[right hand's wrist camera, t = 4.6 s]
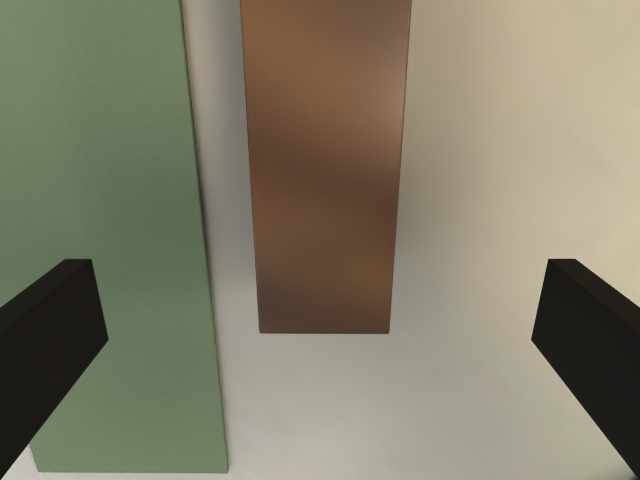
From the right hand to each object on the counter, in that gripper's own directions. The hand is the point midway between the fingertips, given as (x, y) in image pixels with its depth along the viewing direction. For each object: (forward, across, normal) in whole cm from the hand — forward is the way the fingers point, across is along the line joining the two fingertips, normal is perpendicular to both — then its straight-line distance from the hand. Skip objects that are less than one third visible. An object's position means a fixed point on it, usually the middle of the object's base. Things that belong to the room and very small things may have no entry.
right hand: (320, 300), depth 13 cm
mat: (+13, +14, +3) cm, 19 cm away
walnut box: (+13, 0, -11) cm, 17 cm away
